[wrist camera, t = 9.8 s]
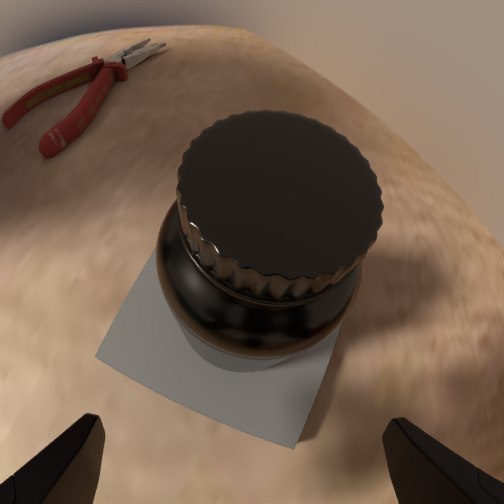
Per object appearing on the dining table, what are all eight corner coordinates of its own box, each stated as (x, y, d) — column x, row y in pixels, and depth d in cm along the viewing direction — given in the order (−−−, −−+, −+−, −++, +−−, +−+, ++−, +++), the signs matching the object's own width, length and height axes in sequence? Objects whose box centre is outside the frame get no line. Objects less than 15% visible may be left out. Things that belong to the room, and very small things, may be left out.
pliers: (192, 60, 31) (193, 41, 29) (51, 167, 23) (41, 147, 20) (128, 42, 33) (126, 26, 30) (4, 130, 24) (-4, 114, 22)
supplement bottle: (188, 251, 19) (173, 74, 8) (301, 264, 19) (393, 112, 9) (171, 367, 16) (91, 304, 5) (297, 379, 16) (443, 335, 5)
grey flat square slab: (349, 274, 21) (358, 265, 20) (287, 445, 16) (293, 449, 14) (191, 205, 22) (190, 192, 21) (102, 359, 17) (94, 356, 15)
